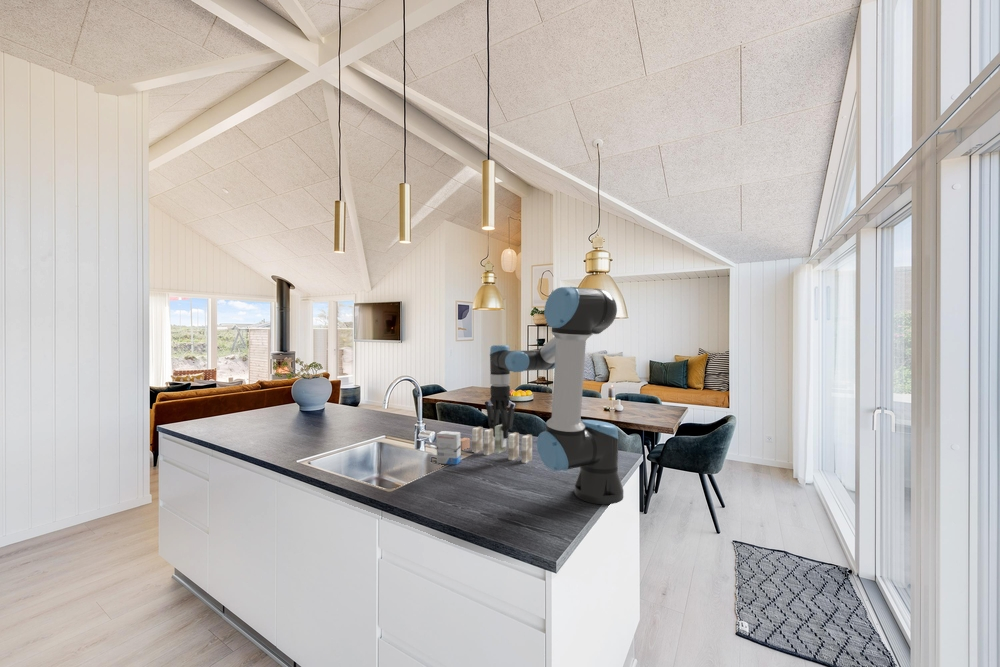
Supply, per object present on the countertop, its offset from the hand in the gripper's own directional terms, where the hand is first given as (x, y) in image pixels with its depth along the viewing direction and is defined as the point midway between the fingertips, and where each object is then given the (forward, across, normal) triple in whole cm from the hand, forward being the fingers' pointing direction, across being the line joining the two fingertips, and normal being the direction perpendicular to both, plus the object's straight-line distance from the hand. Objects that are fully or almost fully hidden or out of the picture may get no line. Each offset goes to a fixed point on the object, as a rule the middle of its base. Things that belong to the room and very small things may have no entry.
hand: (500, 446), depth 159 cm
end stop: (+6, +25, -9) cm, 28 cm away
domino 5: (+7, -6, -9) cm, 13 cm away
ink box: (+7, +19, +9) cm, 22 cm away
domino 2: (+7, +12, -9) cm, 17 cm away
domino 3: (+2, 0, 0) cm, 2 cm away
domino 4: (+7, 0, -9) cm, 12 cm away
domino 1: (+7, +18, -9) cm, 21 cm away
